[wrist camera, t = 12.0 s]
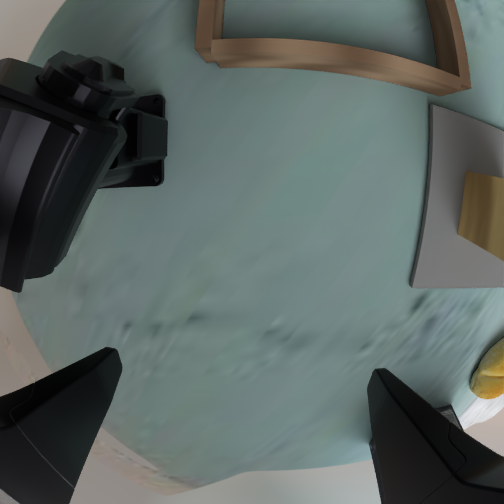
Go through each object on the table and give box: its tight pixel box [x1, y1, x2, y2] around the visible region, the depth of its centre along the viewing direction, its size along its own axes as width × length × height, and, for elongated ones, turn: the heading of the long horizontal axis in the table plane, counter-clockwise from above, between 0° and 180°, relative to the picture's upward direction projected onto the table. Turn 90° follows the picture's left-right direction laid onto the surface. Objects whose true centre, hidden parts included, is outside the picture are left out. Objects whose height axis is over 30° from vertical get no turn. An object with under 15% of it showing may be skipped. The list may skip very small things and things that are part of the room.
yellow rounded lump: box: [470, 337, 504, 399], centre depth 20 cm, size 8×9×4 cm
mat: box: [410, 105, 504, 288], centre depth 17 cm, size 12×14×1 cm
